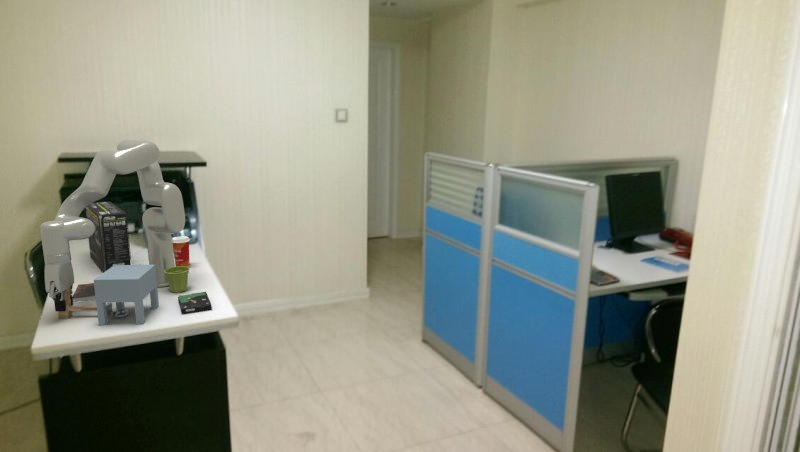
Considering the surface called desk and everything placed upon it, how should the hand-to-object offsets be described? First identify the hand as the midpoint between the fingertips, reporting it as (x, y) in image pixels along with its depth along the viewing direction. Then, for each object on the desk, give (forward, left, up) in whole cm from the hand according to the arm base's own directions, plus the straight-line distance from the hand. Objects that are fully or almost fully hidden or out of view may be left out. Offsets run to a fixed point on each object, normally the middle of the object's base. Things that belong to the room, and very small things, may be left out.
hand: (64, 307), depth 179 cm
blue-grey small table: (0, +21, -3) cm, 22 cm away
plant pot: (-25, +30, -4) cm, 39 cm away
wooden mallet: (0, +6, -3) cm, 7 cm away
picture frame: (-25, +3, -4) cm, 26 cm away
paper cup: (-55, +23, -4) cm, 60 cm away
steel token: (0, +18, -4) cm, 19 cm away
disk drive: (-8, +41, -4) cm, 42 cm away
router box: (-62, -10, -4) cm, 63 cm away
